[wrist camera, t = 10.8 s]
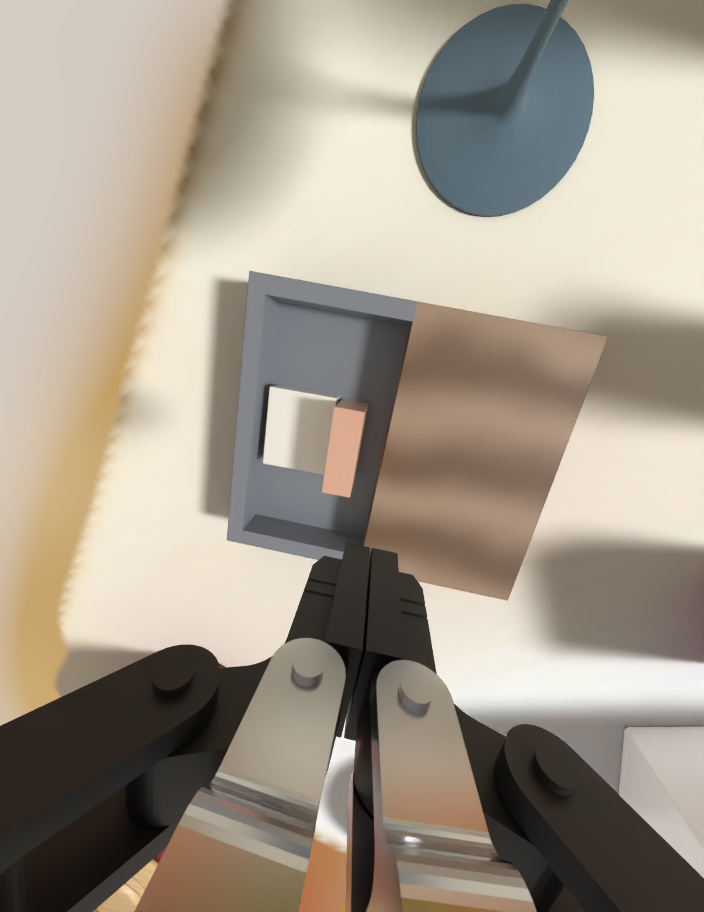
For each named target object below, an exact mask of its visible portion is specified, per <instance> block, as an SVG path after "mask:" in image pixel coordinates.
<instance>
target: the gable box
mask: <svg viewBox="0 0 704 912" xmlns="http://www.w3.org/2000/svg"><path fill="white" fill-rule="evenodd" d="M619 795H620V796H621V797H622V798H623V799H624V800H625V801H626V802H627V803H628V804H629V805H630V806H631V807H632V808H633V809H634V810H635V811H636V812H637V813H638V814H639V815H640V816H641V817H642V818H643V819H644V820H645V821H646V822H647V823H648V824H649V825H650V826H651V827H652V828H653V829H654V830H655V831H656V832H657V833H658V834H659V835H660V836H661V837H662V838H663V839H664V840H665V841H667V842H668V843H669V844H670V845H671V846H672V847H673V848H674V849H675V850H676V851H677V852H678V853H679V854H680V855H681V856H682V857H683V858H684V859H685V860H686V861H687V862H688V863H689V864H690V865H691V866H692V867H693V868H694V869H695V870H696V871H697V872H698V873H699V874H700V875H701V876H702V877H703V878H704V726H688V727H626V728H625V730H624V741H623V752H622V763H621V775H620V786H619Z"/></svg>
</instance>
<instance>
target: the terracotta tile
mask: <svg viewBox="0 0 704 912" xmlns="http://www.w3.org/2000/svg"><path fill="white" fill-rule="evenodd" d="M367 408H368V403H366V402H360V401H354V400H349V399H342V400H341V401H340V402H339V403H338V404H337V405H336V406H335V407H334V412H333V419H332V426H331V433H330V440H329V446H328V453H327V460H326V467H325V474H324V480H323V487H322V492H323V493H328V494H333V495H339V496H344V497H349V498H350V496H351V492H352V488H353V484H354V480H355V476H356V471H357V465H358V459H359V454H360V448H361V442H362V437H363V431H364V425H365V420H366V414H367Z"/></svg>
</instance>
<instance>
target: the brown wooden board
mask: <svg viewBox="0 0 704 912" xmlns="http://www.w3.org/2000/svg"><path fill="white" fill-rule="evenodd" d="M607 338H608V336H603V335H597V334H592V333H586V332H581V331H575V330H570V329H564V328H559V327H553V326H548V325H542V324H537V323H531V322H526V321H521V320H515V319H510V318H504V317H499V316H493V315H488V314H482V313H477V312H471V311H466V310H460V309H455V308H450V307H444V306H439V305H433V304H428V303H422V302H417V305H416V310H415V315H414V319H413V322H412V324H411V325H410V327H409V331H408V336H407V340H406V345H405V350H404V354H403V359H402V363H401V368H400V373H399V377H398V382H397V386H396V391H395V396H394V400H393V405H392V409H391V414H390V419H389V423H388V428H387V432H386V437H385V442H384V446H383V451H382V456H381V460H380V465H379V469H378V474H377V479H376V483H375V488H374V492H373V497H372V502H371V506H370V511H369V515H368V520H367V525H366V529H365V534H364V540H363V546H367V547H370V553H371V549H372V548H377V549H381V550H386V551H390V552H395V553H397V554H398V568H399V572H402V573H407V574H411V575H414V577H415V578H416V580H417V581H419V582H424V583H428V584H433V585H438V586H442V587H447V588H452V589H456V590H461V591H466V592H470V593H475V594H480V595H484V596H489V597H494V598H498V599H503V600H508V598H509V596H510V593H511V591H512V588H513V585H514V583H515V580H516V577H517V575H518V572H519V570H520V567H521V564H522V562H523V559H524V556H525V554H526V551H527V549H528V546H529V543H530V541H531V538H532V535H533V533H534V530H535V528H536V525H537V522H538V520H539V517H540V514H541V512H542V509H543V507H544V504H545V501H546V499H547V496H548V493H549V491H550V488H551V486H552V483H553V480H554V478H555V475H556V472H557V470H558V467H559V465H560V462H561V459H562V457H563V454H564V451H565V449H566V446H567V444H568V441H569V438H570V436H571V433H572V430H573V428H574V425H575V423H576V420H577V417H578V415H579V412H580V409H581V407H582V404H583V402H584V399H585V396H586V394H587V391H588V388H589V386H590V383H591V381H592V378H593V375H594V373H595V370H596V367H597V365H598V362H599V359H600V357H601V354H602V352H603V349H604V346H605V344H606V341H607Z"/></svg>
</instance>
